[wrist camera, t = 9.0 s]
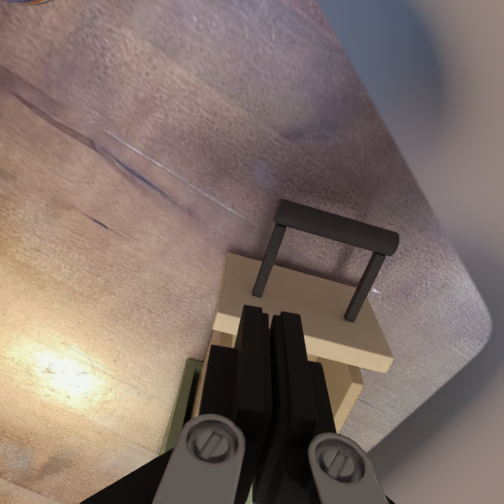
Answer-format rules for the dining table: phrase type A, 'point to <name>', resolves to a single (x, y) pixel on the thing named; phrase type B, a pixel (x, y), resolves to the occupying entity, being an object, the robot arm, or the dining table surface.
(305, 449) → the robot arm
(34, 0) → the pill bottle
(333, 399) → the drawer
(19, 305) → the dining table surface
